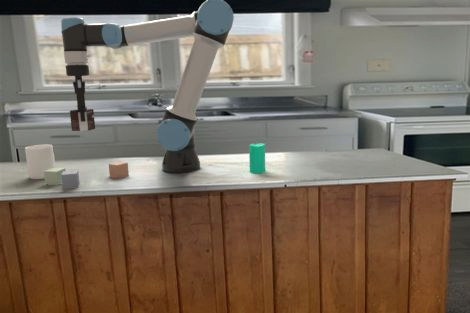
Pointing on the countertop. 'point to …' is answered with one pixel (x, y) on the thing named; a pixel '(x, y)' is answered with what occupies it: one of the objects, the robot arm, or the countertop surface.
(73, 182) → the cube slate
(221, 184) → the countertop surface
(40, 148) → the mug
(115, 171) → the cube terracotta
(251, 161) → the candle
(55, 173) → the cube sage
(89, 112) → the box
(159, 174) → the countertop surface
